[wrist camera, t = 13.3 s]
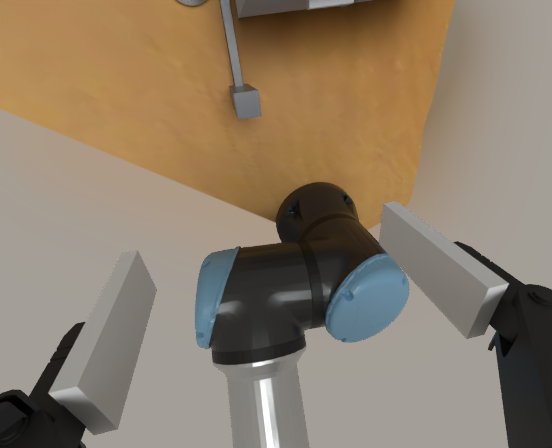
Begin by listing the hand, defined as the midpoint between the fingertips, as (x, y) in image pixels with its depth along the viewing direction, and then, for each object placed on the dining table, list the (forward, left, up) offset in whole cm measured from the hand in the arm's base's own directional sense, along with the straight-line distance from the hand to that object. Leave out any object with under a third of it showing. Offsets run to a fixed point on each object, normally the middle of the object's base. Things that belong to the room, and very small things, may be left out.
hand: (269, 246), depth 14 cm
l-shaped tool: (+13, -1, -30) cm, 33 cm away
